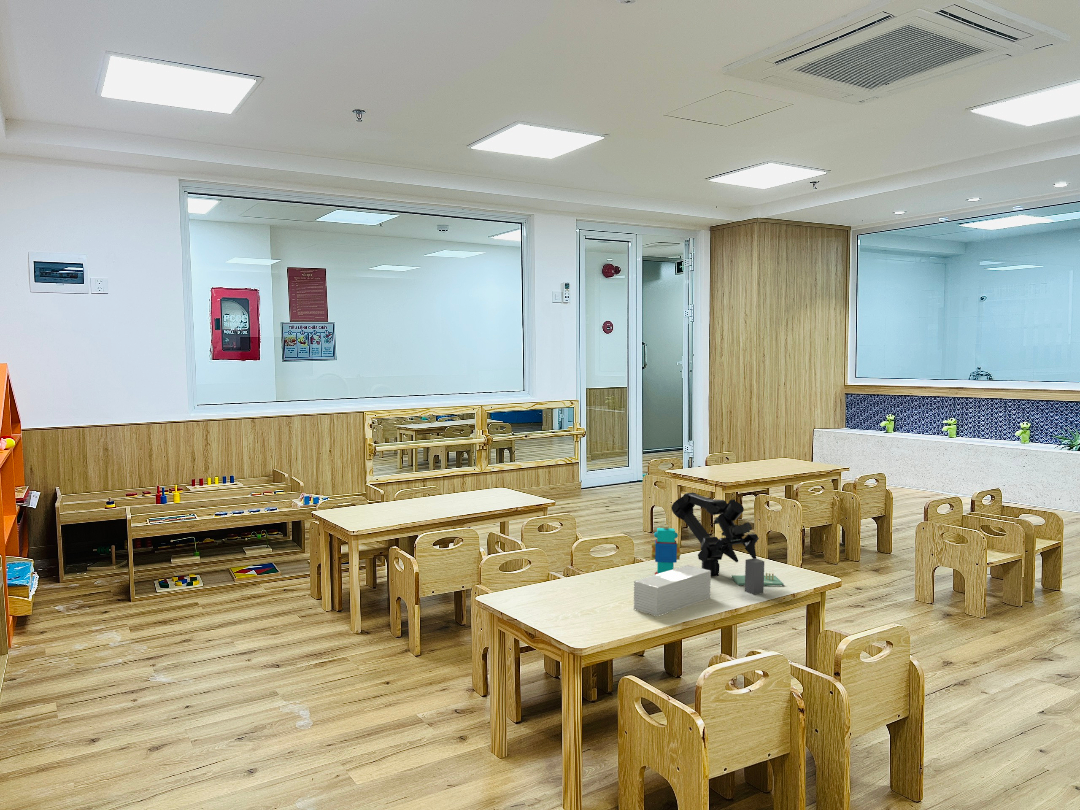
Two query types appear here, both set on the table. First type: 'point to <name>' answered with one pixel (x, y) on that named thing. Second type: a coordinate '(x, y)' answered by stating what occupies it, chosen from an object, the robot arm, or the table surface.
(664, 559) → the toy robot
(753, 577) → the block
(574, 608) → the table surface
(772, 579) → the board
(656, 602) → the stack of papers
